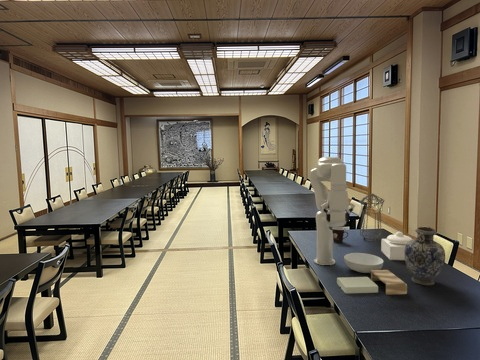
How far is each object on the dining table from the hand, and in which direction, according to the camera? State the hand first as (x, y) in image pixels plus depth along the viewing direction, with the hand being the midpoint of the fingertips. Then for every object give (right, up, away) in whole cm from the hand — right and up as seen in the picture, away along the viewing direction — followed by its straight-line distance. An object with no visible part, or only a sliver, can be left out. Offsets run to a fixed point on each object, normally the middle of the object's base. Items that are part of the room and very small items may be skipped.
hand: (337, 221), depth 175 cm
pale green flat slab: (+8, -33, -5) cm, 34 cm away
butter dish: (+52, -28, +43) cm, 73 cm away
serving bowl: (+20, -30, +19) cm, 41 cm away
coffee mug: (+22, -24, +73) cm, 80 cm away
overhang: (+23, -32, -4) cm, 40 cm away
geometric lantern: (+46, -24, +78) cm, 94 cm away
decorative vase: (+45, -32, +2) cm, 55 cm away
